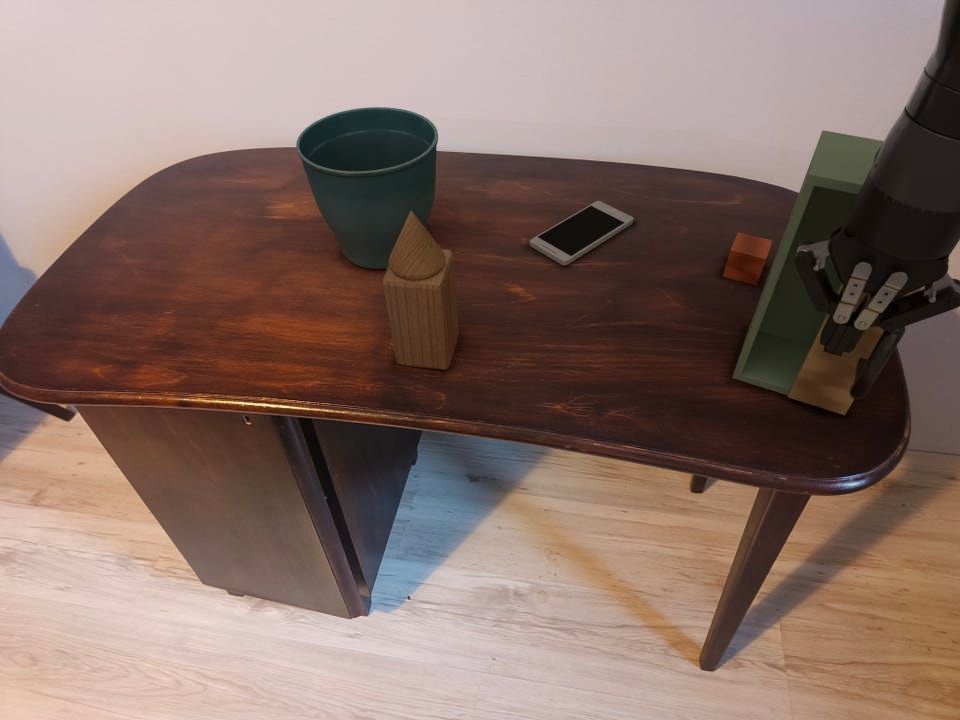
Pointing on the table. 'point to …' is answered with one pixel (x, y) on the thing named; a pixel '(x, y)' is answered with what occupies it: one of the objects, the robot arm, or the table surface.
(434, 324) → the decorative item
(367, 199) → the flower pot
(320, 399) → the table surface
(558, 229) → the smartphone
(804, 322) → the box
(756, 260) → the block
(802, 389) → the door
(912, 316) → the robot arm
